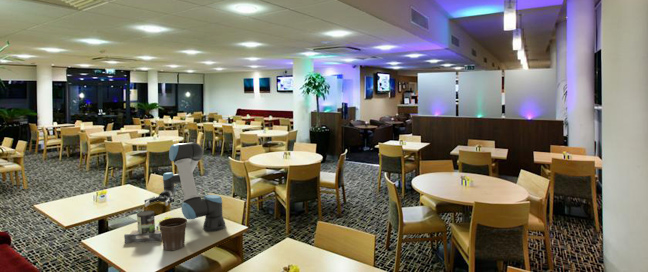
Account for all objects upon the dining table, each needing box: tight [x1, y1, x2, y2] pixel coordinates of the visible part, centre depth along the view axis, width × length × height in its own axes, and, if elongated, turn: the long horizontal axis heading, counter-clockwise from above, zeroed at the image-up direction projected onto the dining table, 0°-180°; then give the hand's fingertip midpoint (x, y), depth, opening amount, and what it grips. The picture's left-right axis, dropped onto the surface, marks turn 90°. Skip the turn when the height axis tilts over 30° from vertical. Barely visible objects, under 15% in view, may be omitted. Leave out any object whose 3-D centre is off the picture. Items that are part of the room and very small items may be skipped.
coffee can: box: [136, 210, 156, 234], centre depth 229 cm, size 10×10×14 cm
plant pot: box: [158, 216, 188, 252], centre depth 217 cm, size 16×16×16 cm
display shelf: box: [123, 229, 163, 244], centre depth 230 cm, size 22×14×6 cm, turn 97°
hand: (155, 204), depth 242 cm, fingers open, 13 cm apart
